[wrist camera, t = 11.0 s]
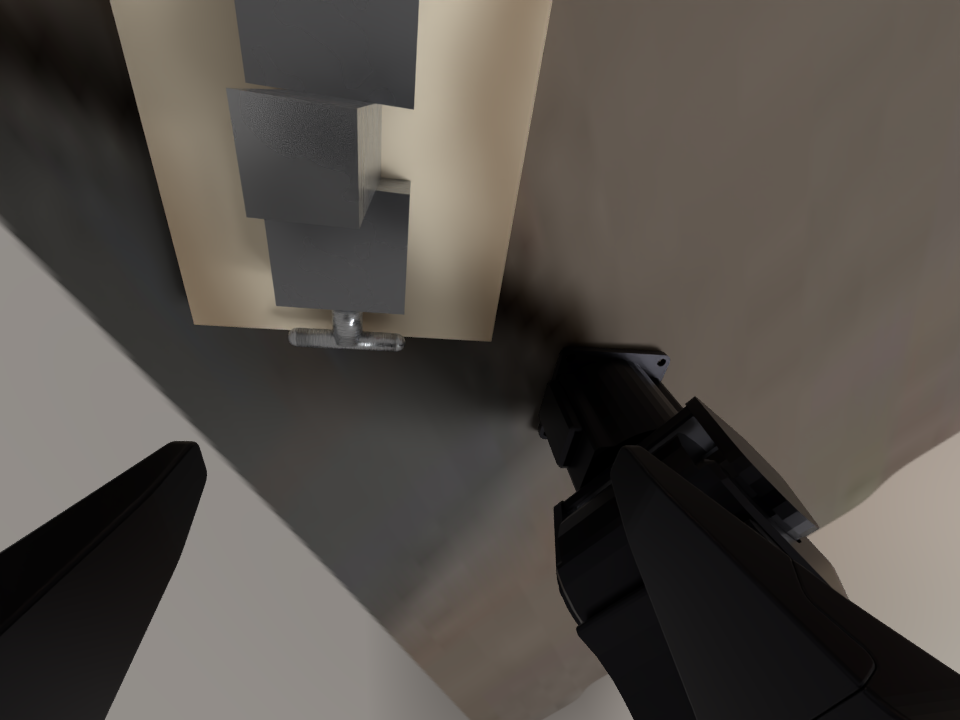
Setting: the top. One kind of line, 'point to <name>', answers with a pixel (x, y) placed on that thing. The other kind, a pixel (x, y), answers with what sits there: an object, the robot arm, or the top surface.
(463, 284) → the board
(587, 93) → the top surface
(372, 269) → the bench vise
